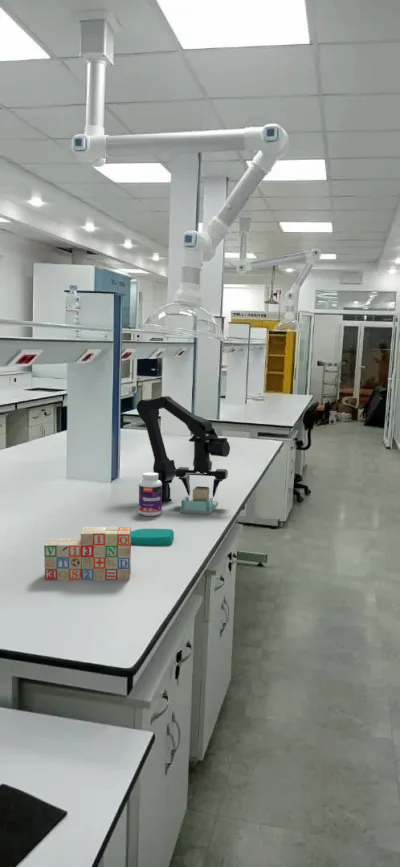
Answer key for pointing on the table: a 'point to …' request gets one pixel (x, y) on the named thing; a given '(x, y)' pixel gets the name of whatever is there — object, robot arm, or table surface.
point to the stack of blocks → (90, 555)
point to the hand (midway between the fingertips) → (201, 496)
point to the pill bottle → (150, 495)
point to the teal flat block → (152, 537)
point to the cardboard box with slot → (201, 494)
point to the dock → (198, 506)
